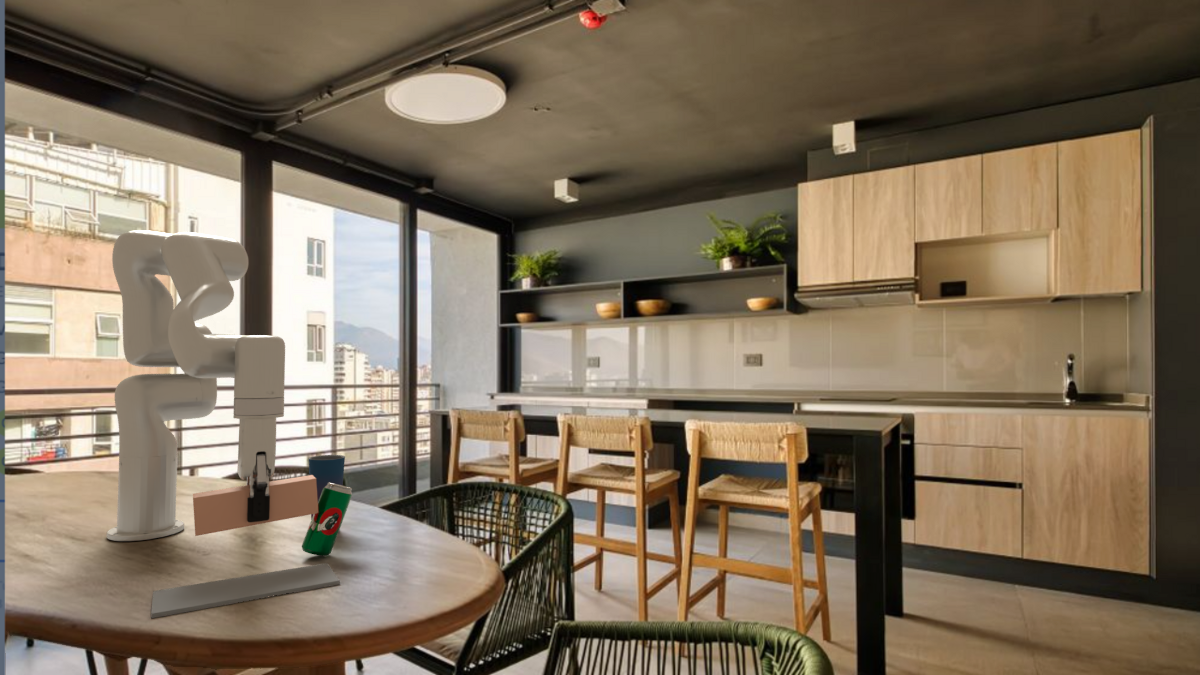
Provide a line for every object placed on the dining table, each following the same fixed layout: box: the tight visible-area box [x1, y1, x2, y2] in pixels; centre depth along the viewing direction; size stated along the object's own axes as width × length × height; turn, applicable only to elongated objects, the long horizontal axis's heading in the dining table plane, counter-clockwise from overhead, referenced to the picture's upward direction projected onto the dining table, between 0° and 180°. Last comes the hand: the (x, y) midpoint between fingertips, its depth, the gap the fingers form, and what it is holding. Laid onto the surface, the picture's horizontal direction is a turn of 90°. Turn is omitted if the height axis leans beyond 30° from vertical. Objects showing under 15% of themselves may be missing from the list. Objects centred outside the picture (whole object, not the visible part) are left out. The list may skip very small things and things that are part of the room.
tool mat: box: [150, 563, 341, 619], centre depth 97 cm, size 10×24×1 cm, turn 124°
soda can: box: [301, 482, 353, 557], centre depth 114 cm, size 5×5×12 cm
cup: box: [308, 454, 346, 520], centre depth 129 cm, size 7×7×15 cm
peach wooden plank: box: [192, 475, 318, 537], centre depth 107 cm, size 4×18×6 cm, turn 123°
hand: (256, 516), depth 107 cm, fingers closed on peach wooden plank, 4 cm apart
